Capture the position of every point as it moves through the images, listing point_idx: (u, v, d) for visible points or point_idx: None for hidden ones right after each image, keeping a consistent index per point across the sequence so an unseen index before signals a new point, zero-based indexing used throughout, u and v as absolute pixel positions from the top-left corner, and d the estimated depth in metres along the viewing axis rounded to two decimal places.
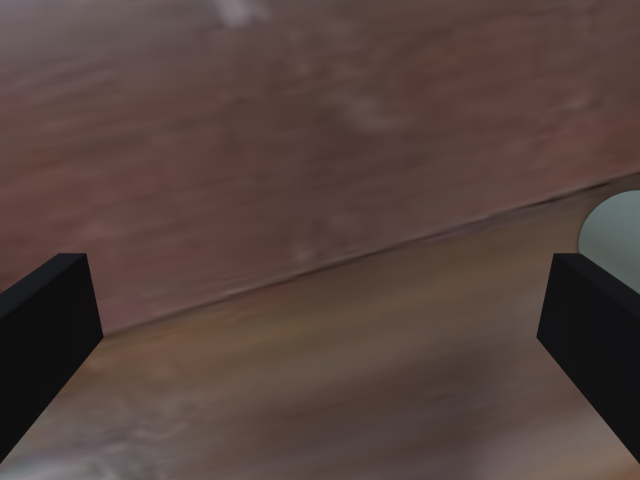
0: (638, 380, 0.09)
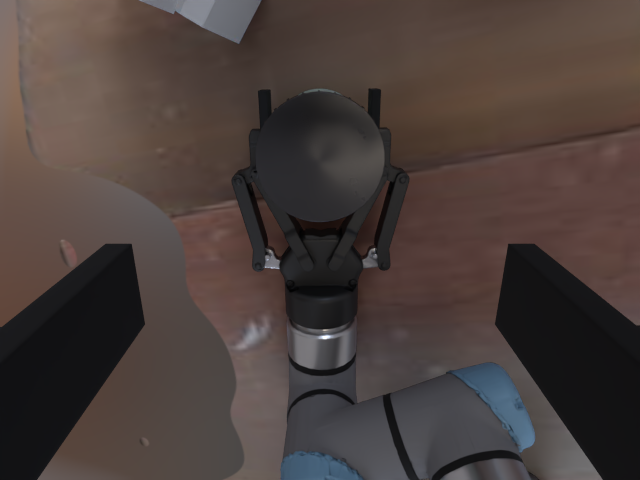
0: (571, 358, 0.10)
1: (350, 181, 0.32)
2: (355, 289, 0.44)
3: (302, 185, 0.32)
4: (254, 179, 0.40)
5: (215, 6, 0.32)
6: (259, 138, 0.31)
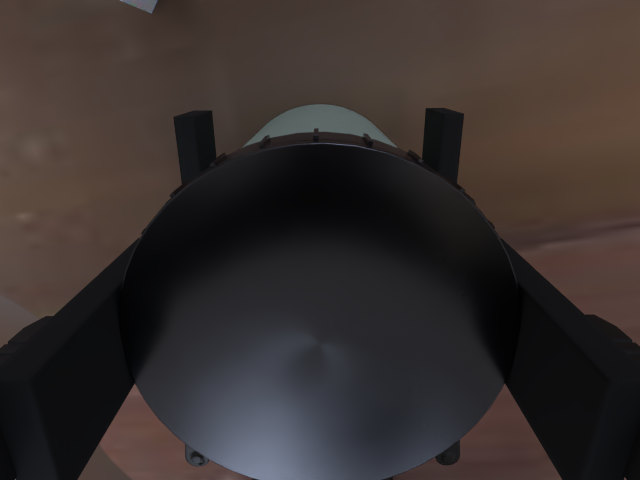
0: (525, 346, 0.10)
1: (410, 396, 0.11)
2: None
3: (268, 406, 0.11)
4: None
5: None
6: (126, 284, 0.10)
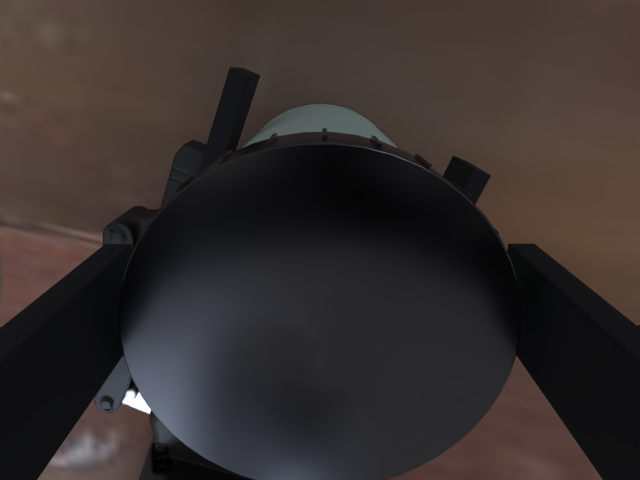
0: (571, 358, 0.09)
1: (405, 268, 0.10)
2: None
3: (384, 398, 0.11)
4: None
5: None
6: (236, 471, 0.12)
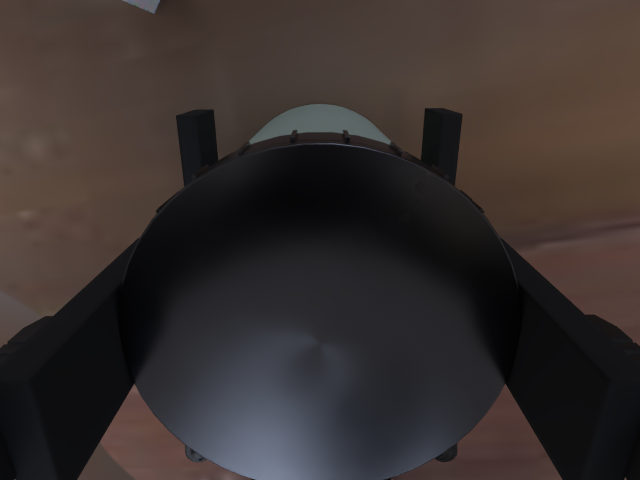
0: (526, 346, 0.10)
1: (366, 244, 0.09)
2: None
3: (405, 374, 0.11)
4: None
5: None
6: None
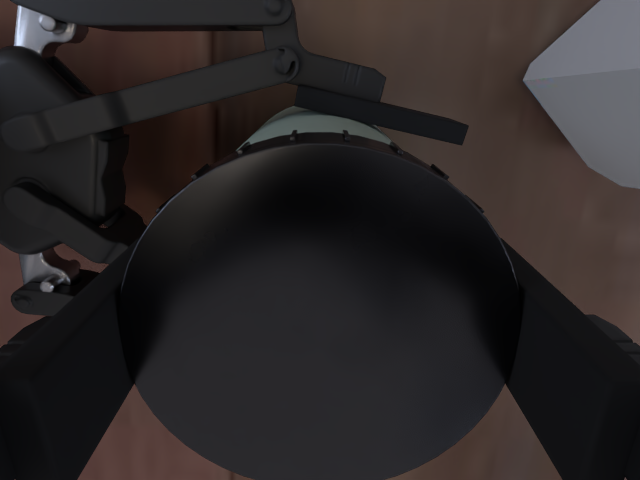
0: (526, 346, 0.10)
1: (366, 244, 0.09)
2: None
3: (405, 374, 0.11)
4: (270, 53, 0.16)
5: None
6: None
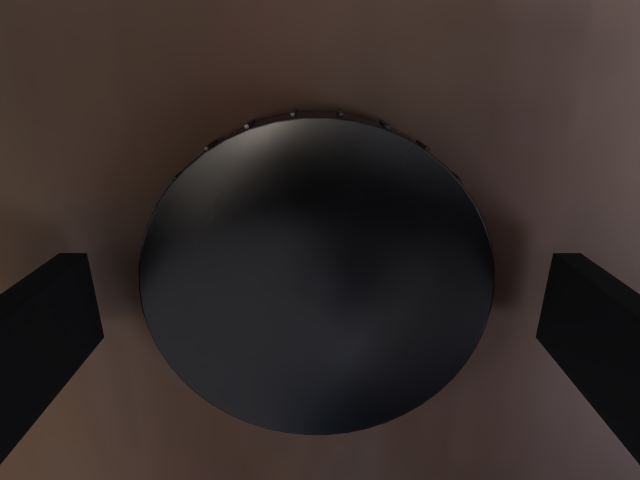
0: (637, 380, 0.09)
1: (357, 208, 0.11)
2: None
3: (392, 327, 0.12)
4: None
5: None
6: (297, 432, 0.13)
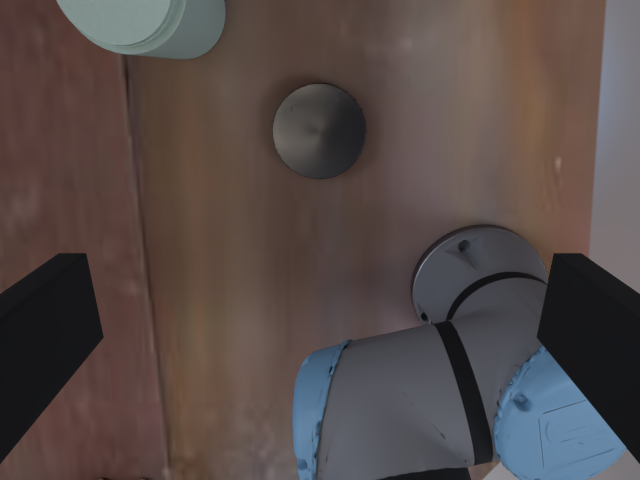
0: (638, 380, 0.09)
1: (329, 107, 0.43)
2: None
3: (339, 141, 0.45)
4: None
5: None
6: (313, 177, 0.46)
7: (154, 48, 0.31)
